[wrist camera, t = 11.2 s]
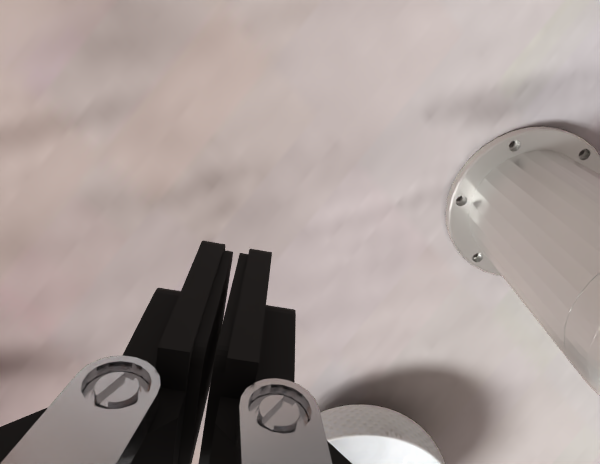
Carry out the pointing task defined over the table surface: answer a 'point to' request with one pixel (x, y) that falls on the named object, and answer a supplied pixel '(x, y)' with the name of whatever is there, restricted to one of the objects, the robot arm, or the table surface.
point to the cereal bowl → (378, 436)
